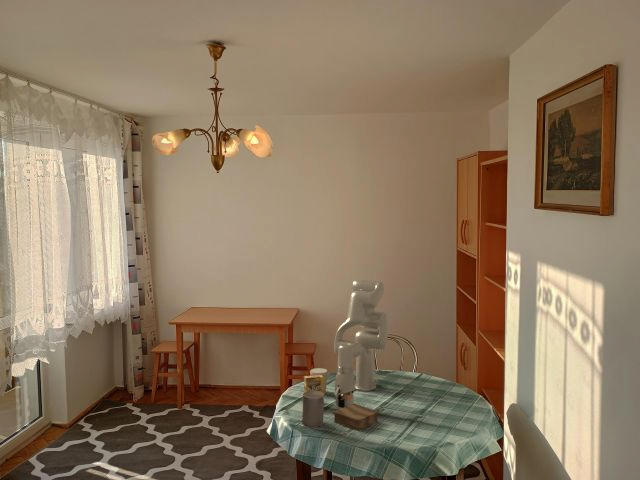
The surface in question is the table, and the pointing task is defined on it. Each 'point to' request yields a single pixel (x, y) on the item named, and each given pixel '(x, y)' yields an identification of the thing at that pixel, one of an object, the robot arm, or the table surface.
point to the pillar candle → (313, 409)
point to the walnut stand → (355, 416)
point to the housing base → (345, 402)
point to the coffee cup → (324, 373)
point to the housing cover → (347, 396)
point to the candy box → (313, 383)
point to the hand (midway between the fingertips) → (344, 405)
